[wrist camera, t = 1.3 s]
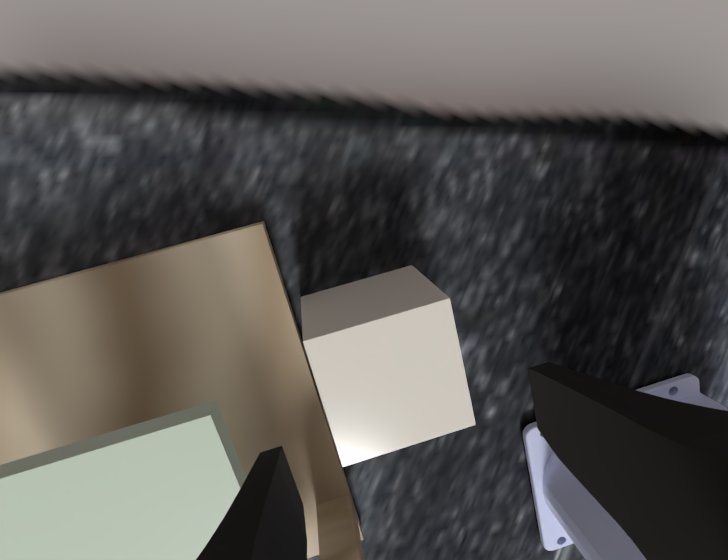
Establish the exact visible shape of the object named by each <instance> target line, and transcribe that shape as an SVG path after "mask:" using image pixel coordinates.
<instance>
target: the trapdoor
mask: <svg viewBox="0 0 728 560" xmlns="http://www.w3.org/2000/svg"><path fill="white" fill-rule="evenodd" d="M245 479H246V476H245V473H244V471H243V468H242V466H241V463H240V461H239V458H238V456H237V453H236V451H235V448H234V446H233V443H232V441H231V438H230V436H229V433H228V431H227V428H226V425H225V423H224V420H223V418H222V415H221V413H220V410H219V408H218V405H217V403H216V400H215V401H211V402H208V403H205V404H201V405H198V406H195V407H191V408H188V409H185V410H181V411H178V412H175V413H171V414H168V415H165V416H161V417H158V418H155V419H151V420H148V421H145V422H141V423H138V424H135V425H131V426H128V427H125V428H121V429H118V430H115V431H111V432H108V433H105V434H101V435H98V436H95V437H91V438H88V439H85V440H81V441H78V442H75V443H72V444H68V445H65V446H62V447H58V448H55V449H52V450H48V451H45V452H42V453H38V454H35V455H32V456H28V457H25V458H22V459H18V460H15V461H12V462H8V463H5V464H2V465H0V560H196V559H197V557H198V556H199V555H200V553H201V552H202V550H203V549H204V548H205V546H206V545H207V543H208V542H209V540H210V539H211V537H212V535H213V534H214V532H215V531H216V529H217V528H218V526H219V524H220V523H221V521H222V520H223V518H224V516H225V515H226V513H227V511H228V510H229V508H230V506H231V504H232V503H233V501H234V499H235V497H236V496H237V494H238V492H239V490H240V489H241V487H242V485H243V483H244V481H245Z"/></svg>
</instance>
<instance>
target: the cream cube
mask: <svg viewBox="0 0 728 560" xmlns="http://www.w3.org/2000/svg"><path fill="white" fill-rule="evenodd" d="M301 315H302V335H303V344H304V347H305V350H306V353H307V356H308V359H309V363H310V366H311V369H312V372H313V375H314V378H315V382H316V385H317V388H318V391H319V394H320V397H321V400H322V404H323V407H324V410H325V413H326V416H327V419H328V422H329V426H330V429H331V432H332V435H333V438H334V441H335V444H336V448H337V451H338V454H339V457H340V460H341V463H342V466H343V467H345V466H348V465H351V464H354V463H358V462H361V461H364V460H367V459H370V458H373V457H376V456H379V455H383V454H386V453H389V452H392V451H395V450H398V449H401V448H404V447H408V446H411V445H414V444H417V443H420V442H423V441H426V440H429V439H433V438H436V437H439V436H442V435H445V434H448V433H451V432H454V431H458V430H461V429H464V428H467V427H470V426H473V425H476V424H475V419H474V414H473V409H472V404H471V399H470V395H469V390H468V385H467V380H466V375H465V370H464V365H463V360H462V356H461V351H460V346H459V341H458V336H457V331H456V326H455V321H454V317H453V312H452V307H451V302H450V298H449V297H448V296H447V295H445V294H444V293H443V292H442V291H441V290H440V289H439V288H438V287H436V286H435V285H434V284H433V283H432V282H431V281H430V280H428V279H427V278H426V277H425V276H424V275H423V274H422V273H420V272H419V271H418V270H417V269H416V268H415V267H414V266H412V265H410V266H407V267H403V268H400V269H396V270H393V271H389V272H386V273H382V274H379V275H375V276H372V277H368V278H365V279H361V280H358V281H354V282H351V283H347V284H344V285H340V286H337V287H333V288H330V289H326V290H323V291H319V292H316V293H312V294H309V295H305V296H302V297H301Z"/></svg>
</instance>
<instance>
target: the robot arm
mask: <svg viewBox="0 0 728 560" xmlns="http://www.w3.org/2000/svg"><path fill="white" fill-rule="evenodd" d="M528 371H529V377H530V384H531V390H532V397H533V403H534V409H535V416H536V422H534V423H531V424H529V425H527V426H526V427H525V428H524V430H523V440H524V446H525V452H526V457H527V463H528V469H529V475H530V481H531V487H532V492H533V498H534V504H535V510H536V516H537V522H538V528H539V533H540V539H541V543H542V545H543V546H544V548H545V549H546V550H549V551H552V550H556V549H559V548H561V547H564V546H567V545H570V544H573V543H574V544H575V545H576V547H577V548H578V550H579V551H580V552H581V554H582V555H583V556H584V558H585V559H586V560H728V408H726V407H724V406H723V405H721V404H719V403H717V402H716V401H714V400H712V399H710V398H709V397H707V396H705V395H703V394H702V393H700V385H699V379H698V378H697V377H696V376H694V375H692V374H689V373H687V374H683V375H680V376H677V377H674V378H670V379H667V380H664V381H661V382H658V383H655V384H652V385H649V386H646V387H642V388H639V389H636V390H633V389H630V388H627V387H623V386H620V385H617V384H614V383H611V382H608V381H605V380H602V379H599V378H596V377H593V376H590V375H587V374H584V373H581V372H578V371H575V370H572V369H569V368H566V367H563V366H560V365H556V364H553V363H549V362H547V363H544V364H541V365H538V366H534V367H531V368H528ZM670 389H671V390H670ZM669 390H670V391H669ZM196 560H307V535H306V524H305V515H304V506H303V502H302V500H301V497H300V494H299V491H298V489H297V486H296V483H295V480H294V478H293V475H292V472H291V469H290V467H289V464H288V461H287V458H286V455H285V453H284V450H283V447H282V446H279V447H276V448H273V449H270V450H267V451H263V452H260V454H259V455H258V457H257V459H256V461H255V462H254V464H253V466H252V468H251V470H250V472H249V474H248V476H247V477H246V479H245V481H244V483H243V485H242V487H241V489H240V490H239V492H238V494H237V496H236V497H235V499H234V501H233V503H232V504H231V506H230V508H229V510H228V511H227V513H226V515H225V516H224V518H223V520H222V521H221V523H220V524H219V526H218V528H217V529H216V531H215V532H214V534H213V535H212V537H211V539H210V540H209V542H208V543H207V545H206V546H205V548H204V549H203V550H202V552H201V553H200V555H199V556H198V557H197V559H196Z"/></svg>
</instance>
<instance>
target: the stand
mask: <svg viewBox="0 0 728 560" xmlns="http://www.w3.org/2000/svg"><path fill="white" fill-rule="evenodd" d="M215 400H216V403H217V405H218V408H219V410H220V413H221V415H222V418H223V420H224V423H225V425H226V428H227V431H228V433H229V436H230V438H231V441H232V443H233V446H234V448H235V451H236V453H237V456H238V458H239V461H240V463H241V466H242V468H243V471H244V473H245V476H246V477H247V476H248V474H249V472H250V470H251V468H252V466H253V464H254V462H255V461H256V459H257V457H258V455H259V454H260V452H263V451H267V450H270V449H273V448H276V447H279V446H282V447H283V450H284V453H285V455H286V458H287V461H288V464H289V467H290V469H291V472H292V475H293V478H294V480H295V483H296V486H297V489H298V491H299V494H300V497H301V500H302V502H303V506H304V515H305V524H306V535H307V558H310V557H313V556H316V555H319V558H320V560H364V555H363V549H362V543H361V540H364V539H363V533H362V528H361V524H360V521H359V518H358V515H357V512H356V509H355V505H354V502H353V499H352V496H351V493H350V490H349V487H348V484H347V480H346V477H345V474H344V471H343V468H342V465H341V462H340V458H339V455H338V452H337V449H336V446H335V443H334V440H333V437H332V433H331V430H330V427H329V424H328V421H327V418H326V415H325V411H324V408H323V405H322V402H321V399H320V396H319V393H318V389H317V386H316V383H315V380H314V377H313V374H312V371H311V368H310V364H309V361H308V358H307V355H306V352H305V349H304V346H303V342H302V339H301V336H300V333H299V330H298V327H297V324H296V320H295V317H294V314H293V311H292V308H291V305H290V302H289V299H288V295H287V292H286V289H285V286H284V283H283V280H282V277H281V273H280V270H279V267H278V264H277V261H276V258H275V255H274V251H273V248H272V245H271V242H270V239H269V236H268V233H267V230H266V226H265V223H264V221H262V222H259V223H255V224H251V225H247V226H244V227H240V228H236V229H233V230H229V231H225V232H222V233H218V234H214V235H211V236H207V237H203V238H200V239H196V240H192V241H189V242H185V243H181V244H178V245H174V246H170V247H166V248H163V249H159V250H155V251H152V252H148V253H144V254H141V255H137V256H133V257H130V258H126V259H122V260H119V261H115V262H111V263H108V264H104V265H100V266H97V267H93V268H89V269H85V270H82V271H78V272H74V273H71V274H67V275H63V276H60V277H56V278H52V279H49V280H45V281H41V282H38V283H34V284H30V285H27V286H23V287H19V288H16V289H12V290H8V291H4V292H1V293H0V465H2V464H5V463H8V462H12V461H15V460H18V459H22V458H25V457H28V456H32V455H35V454H38V453H42V452H45V451H48V450H52V449H55V448H58V447H62V446H65V445H68V444H72V443H75V442H78V441H81V440H85V439H88V438H91V437H95V436H98V435H101V434H105V433H108V432H111V431H115V430H118V429H121V428H125V427H128V426H131V425H135V424H138V423H141V422H145V421H148V420H151V419H155V418H158V417H161V416H165V415H168V414H171V413H175V412H178V411H181V410H185V409H188V408H191V407H195V406H198V405H201V404H205V403H208V402H211V401H215Z"/></svg>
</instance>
